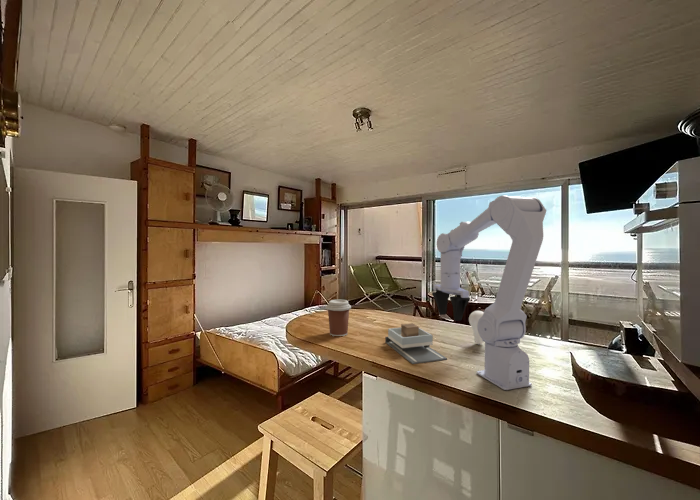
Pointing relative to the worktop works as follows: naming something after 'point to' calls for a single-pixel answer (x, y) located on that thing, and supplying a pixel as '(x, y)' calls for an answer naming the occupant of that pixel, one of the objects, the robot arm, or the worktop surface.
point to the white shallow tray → (410, 339)
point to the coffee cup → (338, 317)
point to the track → (416, 353)
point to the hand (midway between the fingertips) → (450, 317)
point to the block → (409, 330)
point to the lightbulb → (473, 322)
